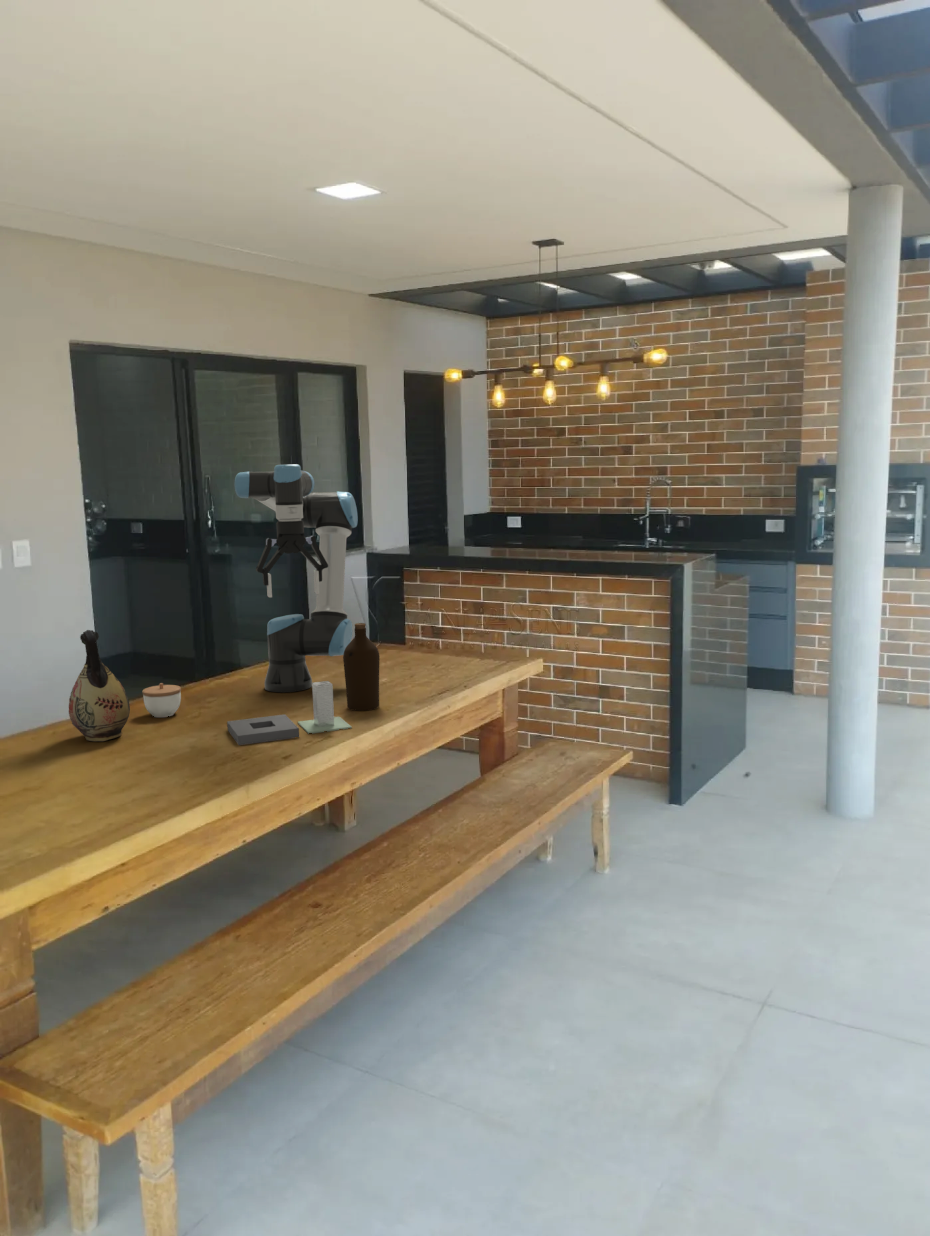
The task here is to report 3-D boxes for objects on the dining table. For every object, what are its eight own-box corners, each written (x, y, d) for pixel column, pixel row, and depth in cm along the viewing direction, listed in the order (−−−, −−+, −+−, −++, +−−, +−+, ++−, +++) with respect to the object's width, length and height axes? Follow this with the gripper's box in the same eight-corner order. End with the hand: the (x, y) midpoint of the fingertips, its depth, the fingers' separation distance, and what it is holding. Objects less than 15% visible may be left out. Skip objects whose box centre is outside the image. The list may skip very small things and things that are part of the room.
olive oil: (379, 711, 291) (376, 626, 287) (343, 712, 291) (339, 627, 287) (382, 702, 301) (379, 620, 297) (347, 703, 301) (344, 621, 297)
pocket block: (227, 730, 274) (227, 721, 274) (285, 723, 280) (284, 714, 280) (238, 745, 259) (238, 735, 259) (299, 737, 266) (298, 728, 265)
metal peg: (314, 723, 277) (312, 682, 276) (329, 721, 279) (328, 680, 277) (318, 727, 273) (316, 686, 271) (334, 725, 275) (332, 684, 273)
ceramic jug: (70, 734, 274) (60, 626, 269) (129, 727, 280) (120, 621, 275) (72, 750, 258) (62, 636, 253) (135, 742, 264) (126, 630, 259)
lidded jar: (190, 712, 295) (188, 680, 293) (165, 721, 285) (162, 688, 284) (161, 708, 299) (159, 678, 298) (136, 717, 290) (133, 686, 288)
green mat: (297, 723, 279) (297, 721, 279) (339, 718, 284) (339, 716, 284) (308, 734, 269) (308, 732, 268) (351, 728, 273) (351, 726, 273)
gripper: (247, 522, 272) (252, 600, 276) (336, 518, 282) (339, 593, 285) (242, 521, 279) (246, 596, 283) (329, 517, 289) (332, 590, 292)
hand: (293, 595), depth 284 cm, fingers open, 13 cm apart
